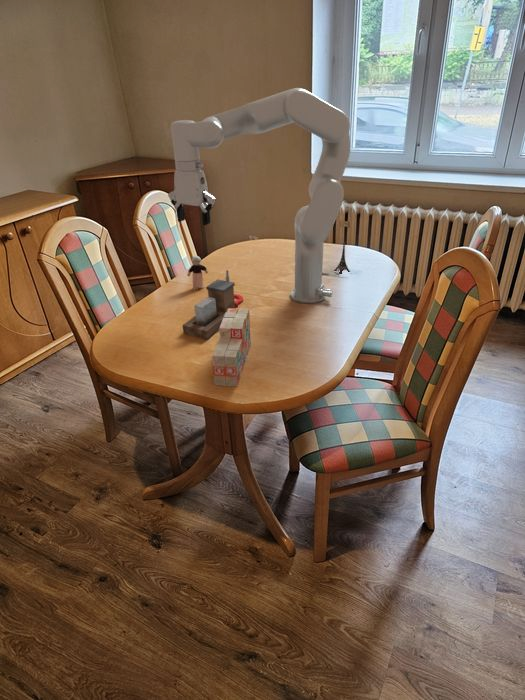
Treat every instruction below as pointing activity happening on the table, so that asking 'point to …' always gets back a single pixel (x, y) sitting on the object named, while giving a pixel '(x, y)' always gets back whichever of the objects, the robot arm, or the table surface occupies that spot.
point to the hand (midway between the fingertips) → (194, 222)
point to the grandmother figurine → (197, 273)
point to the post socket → (224, 300)
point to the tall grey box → (205, 311)
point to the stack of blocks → (232, 347)
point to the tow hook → (235, 294)
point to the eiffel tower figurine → (342, 262)
